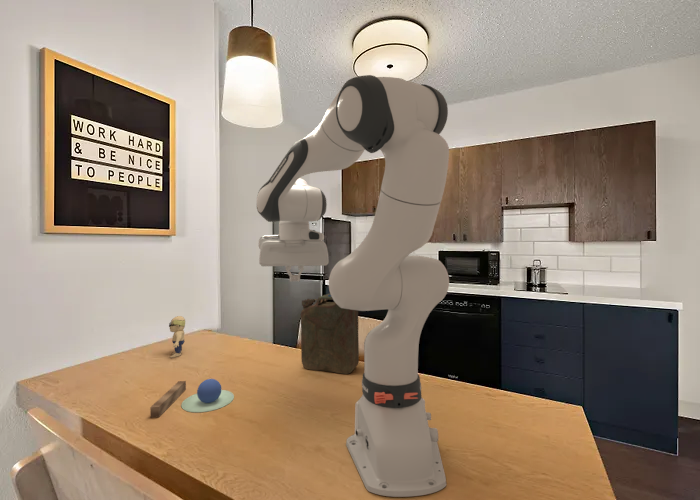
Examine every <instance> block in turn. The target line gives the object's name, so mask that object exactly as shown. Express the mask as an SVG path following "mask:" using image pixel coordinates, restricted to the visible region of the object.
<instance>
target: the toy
mask: <svg viewBox="0 0 700 500" xmlns="http://www.w3.org/2000/svg"><path fill="white" fill-rule="evenodd" d="M168 324H169V325H168V327H169V332H171V333H173V335H172V340H171V341H172V348H174V352H172V353H171V355H170V356H169V358H178V357H180V356H181V355H182V353H183V345H184V343H185V330H184V329H185V327H186V318H185V317H184V316H181V315H178V316H175V317H173V318H172V319H171V321H170V322H169V323H168Z"/></svg>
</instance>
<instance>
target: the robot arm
mask: <svg viewBox="0 0 700 500" xmlns="http://www.w3.org/2000/svg"><path fill="white" fill-rule="evenodd" d="M448 107H449V106H448V102H447V100H446V98H445V96H444V95H443V94H442V93H441V91H440V90H438V89H436V88H435V87H433V86H430V85H427V84H420V83H416V82H412V81H409V80H405V79H404V78H400V77H390V76H375V75H371V74H368V75H367V74H366V75H359V76H355V77H352V78H350V79H348V80H347V81H346V82H345V83H343V85H342V86H341V88H340V90H339V92H337V94H336V96H335V97H334V98H333V100H332V102H331V103H330V105H329V106H328V108H327V109H326V112H325V114H324V116H323V118H322V120H321V121H320V123H319V124H318V126H317V127H315V128H314V130H312V132H310V133H309V134H307V136H304V137H303V138H301V139H299V140H296V141H295V142H294V144H292V145H291V147H290V148H289V150H288V151H287V153H286V154H285V155H284V157H283V158H282V160H281V162H280V163H279V164H278V165H277V167H276V169H275V170H274V171H273V174H271V177H270V178H269V179H268V180H267V181H266V182H265V183H264V184H263V185H262V186H261V187H260V188H259V190H258V192H257V196H256V209H257V212H258V214H259V216H261V217H262V218H263V219H264V220H266V222H270V223H275V222H279V223H278V231H279V232H278V234H264V235H263V236H261V237H259V239H258V247H259V259H258V260H259V265H260V266H261V267H285V271H286V273H287V275H288V276H289V283H292V282H296V283H297V282H298V283H299V282H301V275H302V273H303V271H304V269H305V267H313V266H315V267H317V266H321V267H322V266H323V267H324V266H328V264H329V263H330V261H329V259H330V258H329V252H328V250H329V249H328V246H327V244H326V242H325V241H324V240H325V235H324V233H323V232H320V231H316V230H315V229H310V222H311V223H312V222H316V221H317V222H318V221H319V220H321V219H322V218H323V216H324V215H325V214H326V212H327V205H328V204H327V203H328V202H327V197H326V195H325V193H324V192H323V190H322V189H321V188H319V187H315V186H311V185H309V184H308V182H307V181H306V180H305V179H303V178H302V177H304V176H306V175H310V174H315V173H320V172H321V173H322V172H334V171H341V170H344V169H348V168H349V167H351V166H352V165H354V164H355V163H356V162H357V161H358V160H359V159H360V158H361V156H362V155H363V153H364V152H365V151H366V152H367V153H369V154H374V153H376V152H378V151H381V153H382V154H383V158H384V161H385V163H384V164H385V167H384V173H383V177H382V181H381V186H380V191H379V198H378V202H377V205H376V206H377V207H376V210H375V213H374V218H373V220H372V224H371V227H370V229H369V231H368V233H367V235H366V236H365V237H364V239H362V240H363V241H362V242H361V243H360V244H359V245H358V246H357V248H356V249H354V250H353V251H352V252H351V253H350V254H348V255H346V257H343V258H341V259H340V260H338V261H337V263H335V264H334V265H333V268H332V269H331V271H330V273H329V277H328V290H329V294H331V296H332V298H333V300H332V301H333V302H335V303H336V304H337V305H338V306H339V307H340V308H344V309H350V310H358V312H366V311H367V312H369V311H381V310H382V311H383V310H387V313H386V316H385V318H383V321H381V322H380V323H379V324H378V325H376V326H374V327H373V328H372V329H371V330H370V331H369V332H368V333H367V335H366V336H365V339H364V342H363V349H364V350H363V351H364V352H363V355H364V357H363V358H364V359H363V360H364V361H363V364H364V369H363V370H364V371H363V373H362V377H361V378H362V379H361V387H362V389H361V391H362V395H361V397H360V398H359V399H358V400H357V401H356V402H355V404H354V405H355V406H354V407H355V409H354V410H355V411H354V434H352V435H350V436H348V437H347V438H346V442H345V446H346V448H347V450H348V452H349V454H350V456H351V458H352V460H353V463H354V465H355V468H356V469H357V471H358V474H359V476H360V478H361V480H362V482H363V485H364V487H365V489H366V490H367V491H368V492H370V493H372V494H376V495H380V496H384V497H385V496H386V497H394V498H395V497H396V498H397V497H398V498H402V497H403V498H404V497H405V498H407V497H408V498H409V497H418V496H419V497H420V496H424V495H430V494H434V493H436V492H439V491H441V490H443V489H444V488H445V487H446V486H447V480H446V479H447V478H446V473H445V469H444V465H443V461H442V458H441V453H440V449H439V444H438V442H439V429H438V428H436V427H431V426H430V427H429V421H431V420H432V414H431V412H427V411H426V401H425V399H424V398H423V396H422V383H421V377H420V375H419V370H418V369H419V344H420V338H421V334H422V330H423V328H424V326H425V323H426V321H427V320H428V317H429V316H430V313H432V311H433V309H435V307H436V306H437V305H438V304H439V303H440V302H441V301H443V299H445V297H446V295H447V294H448V290H449V286H450V277H449V273H448V270H447V268H446V266H445V265H444V264H443V262H442V261H441V260H439V259H437V258H433V257H428V256H423V255H417V254H416V255H413V254H412V253H414V252H416V251H417V250H419V249H420V248H423V247H424V246H425V245H426V244H427V243H428V242H429V240H430V239H431V237H432V235H433V232H434V228H435V224H436V222H437V218H438V214H439V210H440V208H441V204H442V203H441V202H442V201H443V196H444V192H445V188H446V182H447V176H448V170H449V162H450V161H449V159H450V148H449V144H448V142H447V141H446V139H445V138H444V137H443V136H442V135H440V134H441V133H442V132H443V130H444V128H445V126H446V124H447V120H448V115H449V114H448V113H449V112H448V111H449V109H448ZM411 254H412V255H411ZM292 267H298V270H299V272H298V273H297V274H292V272H291V270H292Z"/></svg>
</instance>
